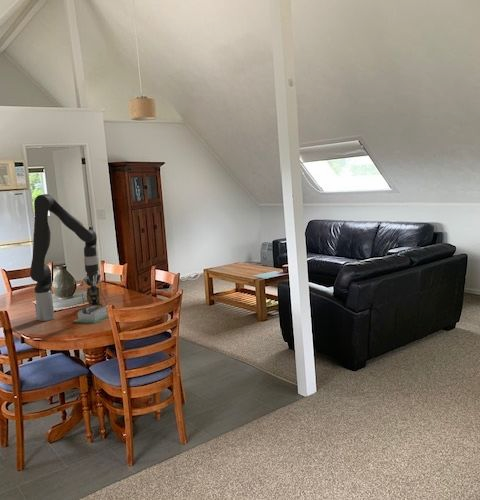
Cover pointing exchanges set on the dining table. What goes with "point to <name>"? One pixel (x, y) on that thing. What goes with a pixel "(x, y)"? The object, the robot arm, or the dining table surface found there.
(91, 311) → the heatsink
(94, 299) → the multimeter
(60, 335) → the dining table surface
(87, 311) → the lever
